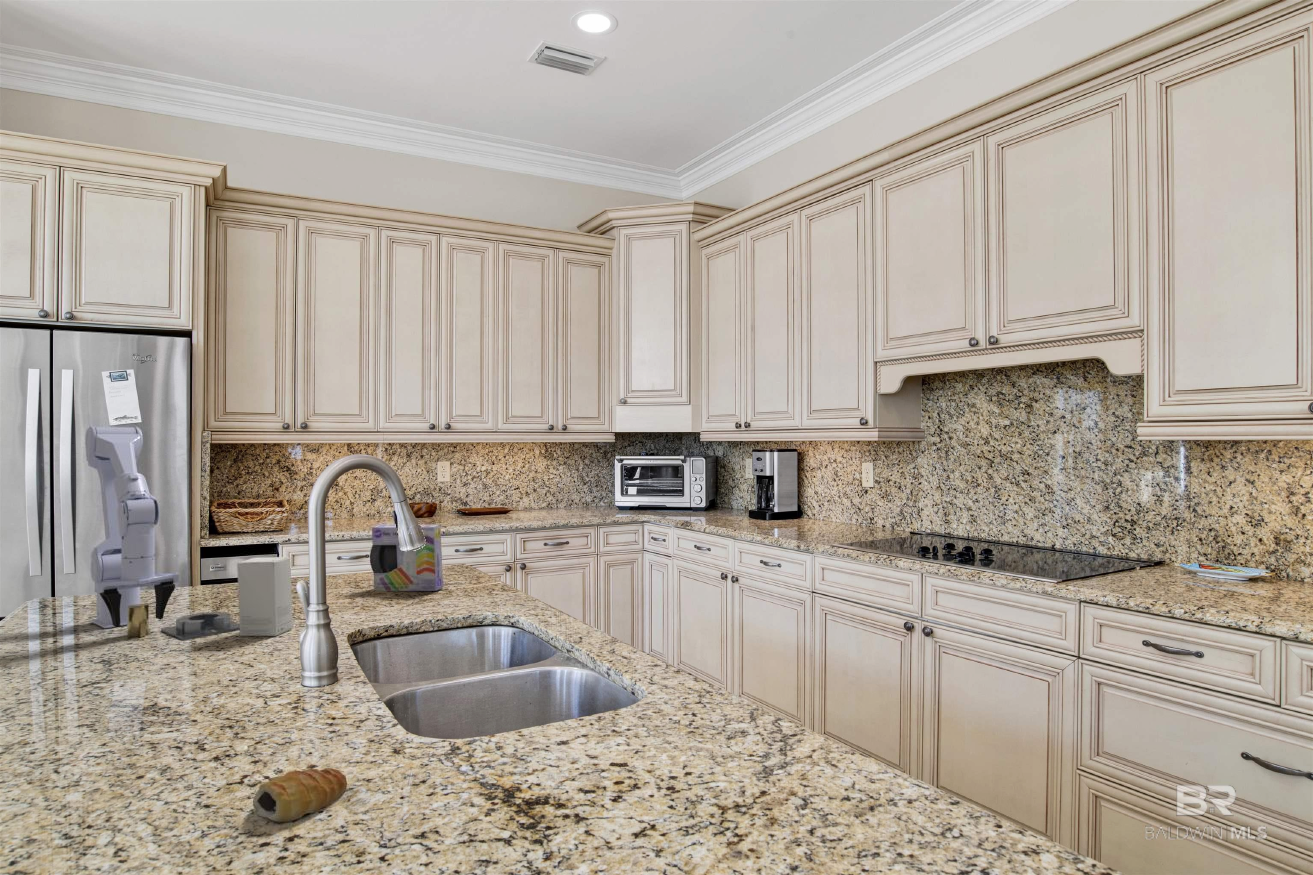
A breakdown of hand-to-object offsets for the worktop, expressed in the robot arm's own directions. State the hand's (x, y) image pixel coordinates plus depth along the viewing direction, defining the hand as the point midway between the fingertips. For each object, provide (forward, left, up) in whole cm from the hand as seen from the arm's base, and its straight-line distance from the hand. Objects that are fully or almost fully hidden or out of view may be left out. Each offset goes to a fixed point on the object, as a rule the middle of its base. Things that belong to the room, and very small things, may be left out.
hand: (138, 621), depth 154 cm
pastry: (+98, -14, -3) cm, 99 cm away
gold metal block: (0, 0, -3) cm, 3 cm away
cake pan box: (+3, +61, -3) cm, 61 cm away
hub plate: (+6, +10, -3) cm, 12 cm away
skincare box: (+19, +17, -3) cm, 26 cm away
